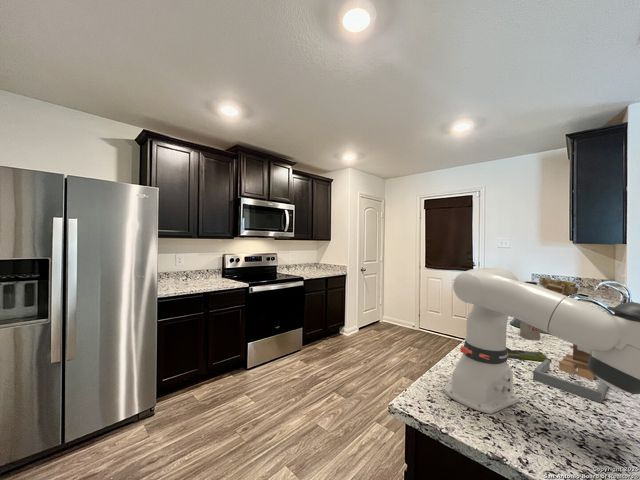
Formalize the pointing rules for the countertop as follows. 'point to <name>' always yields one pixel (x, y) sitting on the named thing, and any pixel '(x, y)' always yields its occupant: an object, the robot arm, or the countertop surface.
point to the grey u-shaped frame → (568, 384)
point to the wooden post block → (578, 357)
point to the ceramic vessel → (558, 286)
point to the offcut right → (585, 372)
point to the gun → (527, 355)
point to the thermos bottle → (529, 328)
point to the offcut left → (568, 366)
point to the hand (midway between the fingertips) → (579, 344)
